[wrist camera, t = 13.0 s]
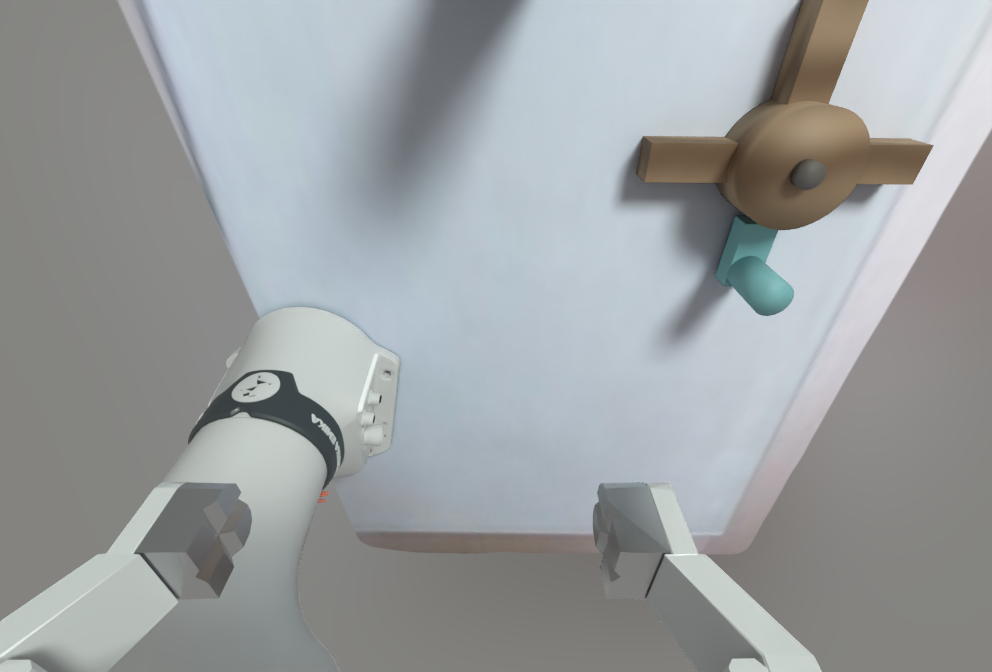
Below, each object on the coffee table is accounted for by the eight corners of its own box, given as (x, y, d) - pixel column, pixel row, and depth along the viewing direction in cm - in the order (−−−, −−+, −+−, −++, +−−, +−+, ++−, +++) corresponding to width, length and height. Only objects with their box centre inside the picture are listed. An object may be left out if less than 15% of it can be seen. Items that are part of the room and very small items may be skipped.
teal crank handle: (734, 216, 40) (774, 248, 34) (769, 216, 40) (815, 249, 34) (713, 277, 44) (747, 315, 38) (746, 277, 44) (784, 316, 38)
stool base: (873, 209, 40) (926, 235, 35) (630, 208, 40) (649, 233, 35) (981, -7, 31) (1072, -12, 26) (670, -11, 31) (703, -17, 26)
